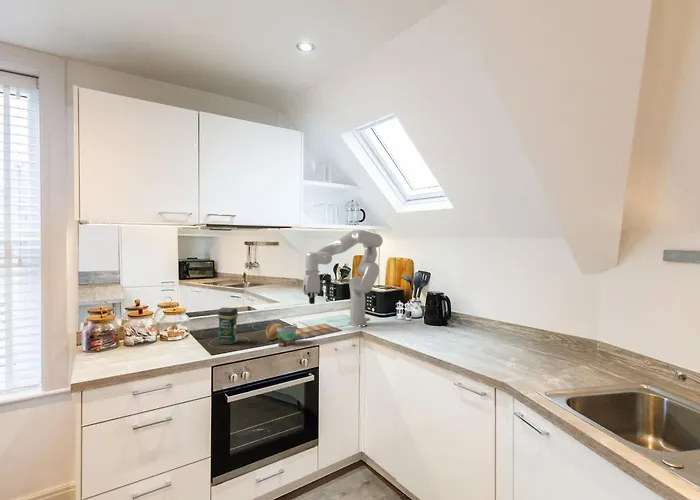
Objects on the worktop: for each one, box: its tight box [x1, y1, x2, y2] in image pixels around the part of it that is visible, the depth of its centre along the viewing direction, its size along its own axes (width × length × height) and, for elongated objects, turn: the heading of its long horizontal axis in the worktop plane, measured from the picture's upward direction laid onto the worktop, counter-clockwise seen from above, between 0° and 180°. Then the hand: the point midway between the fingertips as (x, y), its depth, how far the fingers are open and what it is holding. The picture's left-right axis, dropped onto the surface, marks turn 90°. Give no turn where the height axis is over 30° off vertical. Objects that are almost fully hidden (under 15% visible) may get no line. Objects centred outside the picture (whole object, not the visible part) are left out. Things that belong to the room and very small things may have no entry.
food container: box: [277, 322, 298, 348], centre depth 186 cm, size 12×6×10 cm, turn 143°
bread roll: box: [265, 322, 285, 341], centre depth 199 cm, size 10×15×8 cm, turn 171°
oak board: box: [295, 323, 333, 336], centre depth 214 cm, size 26×8×2 cm, turn 131°
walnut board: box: [297, 326, 343, 339], centre depth 208 cm, size 26×8×2 cm, turn 131°
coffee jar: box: [217, 307, 239, 345], centre depth 189 cm, size 10×8×19 cm
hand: (311, 303), depth 214 cm, fingers closed
